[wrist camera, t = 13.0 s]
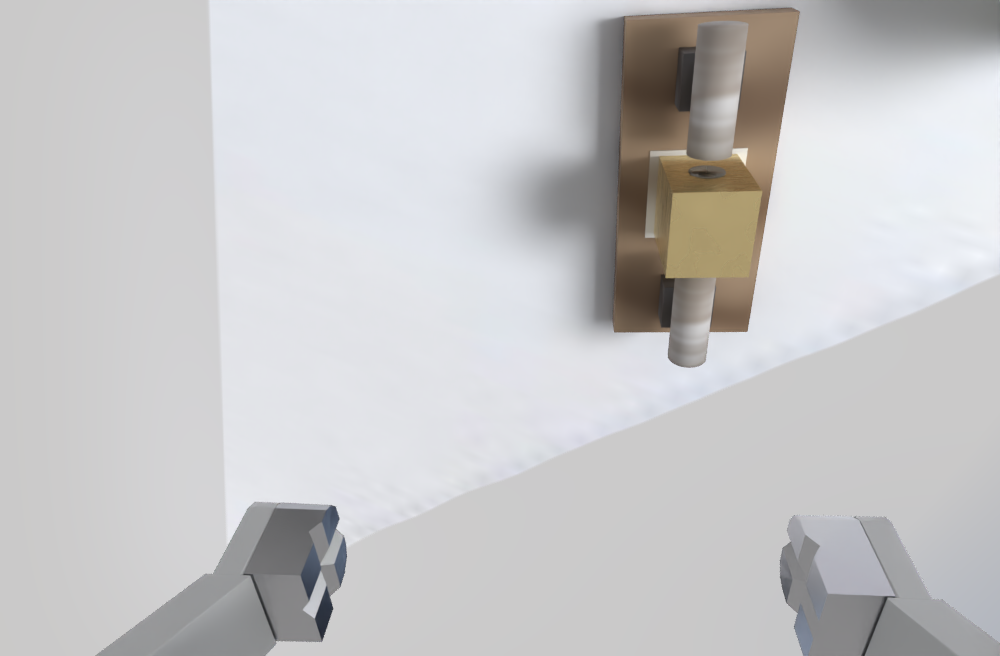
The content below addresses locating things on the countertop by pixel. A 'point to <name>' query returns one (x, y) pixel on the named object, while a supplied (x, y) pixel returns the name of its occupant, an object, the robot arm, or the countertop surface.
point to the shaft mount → (694, 155)
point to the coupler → (705, 217)
